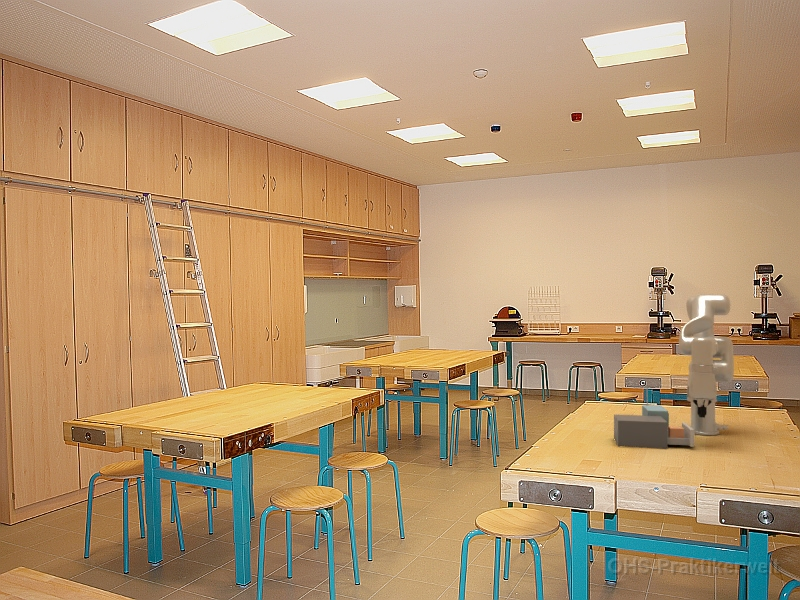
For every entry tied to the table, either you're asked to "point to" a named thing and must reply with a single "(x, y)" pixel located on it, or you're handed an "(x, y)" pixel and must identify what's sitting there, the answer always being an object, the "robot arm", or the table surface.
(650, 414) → the radio
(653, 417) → the housing
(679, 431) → the block
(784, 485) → the table surface
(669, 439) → the light grey drawer
